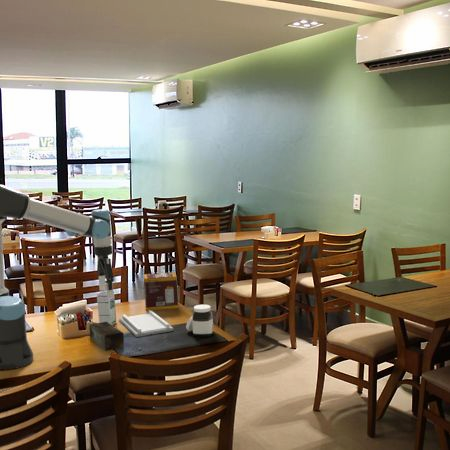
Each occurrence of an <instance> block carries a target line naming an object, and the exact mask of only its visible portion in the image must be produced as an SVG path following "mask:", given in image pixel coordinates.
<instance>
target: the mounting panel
mask: <svg viewBox="0 0 450 450" xmlns="http://www.w3.org/2000/svg"><path fill="white" fill-rule="evenodd" d="M118 320H119V322H120V323H121V324H122V325H123V326H124V327H125V328H126V329H127V330H128V331H129V332H131V333H132V335H134V336H135V338H139V337H146V336H151V334H152V335H155V334H156V335H157V334H163V333H168V332H173V331H174V327H173V326H172V325H170V323H168V322H167V321H166V320H164V319H163V318H162V317H160V316H159V315H158V314H157V313H156V312H154V310H149V311H148V313H144V314H136V315H131V316H127V314H122V317H119V318H118Z"/></svg>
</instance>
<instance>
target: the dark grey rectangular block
mask: <svg viewBox="0 0 450 450" xmlns="http://www.w3.org/2000/svg"><path fill="white" fill-rule="evenodd" d="M88 329H89V330H88V331H89V339H91V340H92V342H94V343H96V344H97V345H98V346H99V347H100V348H101V349H103V350H104V351H111V350H116V349H122V348H124V347H125V341H124V339H125V337H124V332H123V331H121V330H119V329H118V328H117V327H116V326H114V325H111V324H109V323H108V322H101V323H99V322H93V323H91V324H89V326H88Z"/></svg>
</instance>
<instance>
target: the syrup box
mask: <svg viewBox="0 0 450 450" xmlns="http://www.w3.org/2000/svg"><path fill="white" fill-rule="evenodd" d="M113 292H114V293H115V291H114V290H113ZM115 298H116V297H115V296H114V297H109V298H107V290H102V291H100V292H99V293H97V294H96V302H97V312H98V323H101V322H108V323H109V324H111V325H112V326H114V325H115V324H117V313H116V312H117V311H116V302H115V301H116V299H115Z"/></svg>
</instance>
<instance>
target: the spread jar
mask: <svg viewBox="0 0 450 450" xmlns="http://www.w3.org/2000/svg"><path fill="white" fill-rule="evenodd" d="M192 313H193V314H192V316H190V318H189V319H188V320H187V322H186V325H185V327H186V328H185V329H186V330H187V331H188V332H192V334H193V335H194V336H195V337H197V338H207V337H211V336H212V335H213V332H214V319H213V312H212V309H211V305H209V304H197V305H194V306H193V312H192Z"/></svg>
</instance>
